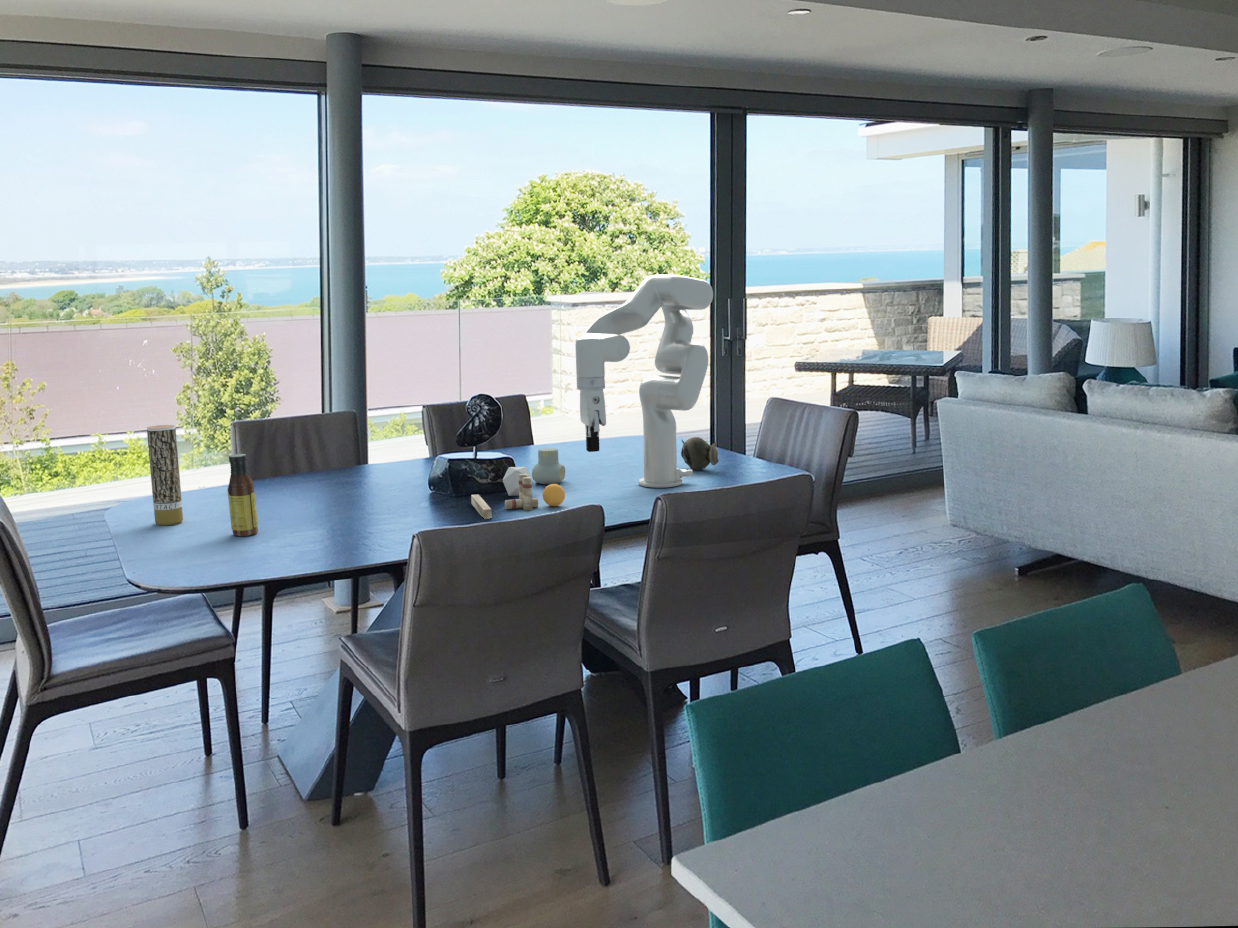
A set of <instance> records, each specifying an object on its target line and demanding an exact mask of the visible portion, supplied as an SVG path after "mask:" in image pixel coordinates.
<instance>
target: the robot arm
mask: <svg viewBox="0 0 1238 928" xmlns="http://www.w3.org/2000/svg"><path fill="white" fill-rule="evenodd" d="M713 299H714V290H713V287H712V286H711V284H710V283H709V282H708V281H707V280H705V279H701V278H696V277H690V276H685V275H680V274H653V275H648V276H647V277H645V278H644V279H643V280H642V281H641V283H640V284H639V285H638V286H637V288H635V290H634V291H633V292H632V293H631V295H630V296H628V298H627V299H626V301H625V302H624V303H623V304H622V305H620V306H618V307H616V308H614V309H613V310H611V311H609V312H607V313H605V314H604V315H602V316H600V317H598V318H597V319H595V320H594V321H593V322H592V324H591V325H590V326H589V327H588V328H587V329H586V330H585V332H584V333H583V334H582V336H580V337H578V338H577V339H576V341H575V370H576V390H578V391H579V392H580V393H579V416H580V421H581V423H582V424H583V425H585V442H586V443H585V446H586V447H585V448H586V451H587V452H589V453H593V452H594V453H595V452H600V426H602V427H605V426H606V425H607V414H606V402H605V401H606V399H605V395H604V389H606V377H605V376H606V375H605V373H606V371H605V369H606V367H605V363H606V362H607V363H619V362H622V361H625V359H626V358H627V357H628V356H629V354H630V350H631V345H630V344H631V343H630V342H629V340H628V339H627V338H626V336H623V335H622V334H627V333H630V332H634V331H637V330H639V329H643V328H644V327H645V326H647V325H648V324H649V322H650V321H651V320H652V318H653V317H654V316H655V314H656V313H657V312H658V311H659V310H660V309H661V310H662V313H663V316H664V327H663V331H662V334H661V338H660V341H659V344H658V347H657V351H656V353H655V357H654V358H655V359H654V367H655V368H656V370H657V371H658V372H661V374H662V373H663V374H667V375H661V374H657V375H650V376H647V377H645V378H644V379H643V380H642V381H641V383H640V385H639V389H638V390H639V391H638V392H639V396H638V397H639V400H640V405H641V409H642V410H641V411H642V423H643V424H642V426H643V428H642V429H643V478H639V479H638V484H639V485H640V486H642V487H644V488H653V489H654V488H659V489H662V488H664V489H665V488H672V487H673V488H674V487H679V486H681V485H682V484H683V479H682V478H683V477H693V475H694V470H693V469H680V468H679V467H677V466H678V465H677V421H676V417H675V416H674V414H673V412H672V411H684V412H685V411H690V410H691V409H693V408H694V407H695V406H696V405H697V402H698V400H699V398H700V393H701V390H702V388H703V384H704V380H705V377H706V374H707V371H708V367H709V353H708V350H707V348H706V347H705V345H703V344H702V343H700V342H694V341H692V338H693V335H694V325H693V321H692V320H691V319H692V318H691V317H690V315H689V314H688V310H693V311H694V310H695V311H697V310H698V311H702V310H705V309H707V308H708V307H710V305H711V303H712V302H713ZM672 375H673V376H672ZM675 375H677V376H675Z"/></svg>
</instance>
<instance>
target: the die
mask: <svg viewBox="0 0 1238 928" xmlns="http://www.w3.org/2000/svg"><path fill="white" fill-rule="evenodd" d="M519 474H528V477H531V479H532V485H533V484H534V480H533V478H532V475H531V474H530V472H529V469H528V467H527V466H510V467H509V466H508V468H507V470H506V472H505V474H504V476H503V478H502V483H503V485H504V487H505V490H506V492H507V494H508V496H509V497H517V496H518V497H519Z"/></svg>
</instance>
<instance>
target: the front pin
mask: <svg viewBox="0 0 1238 928" xmlns="http://www.w3.org/2000/svg"><path fill="white" fill-rule="evenodd" d="M504 507H505V510H515V509H523V499H519V498H518V499H517V498H516V499H505V500H504ZM538 507H539V500H538V498H537V497H534V498H533V497H532V508H538Z"/></svg>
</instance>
